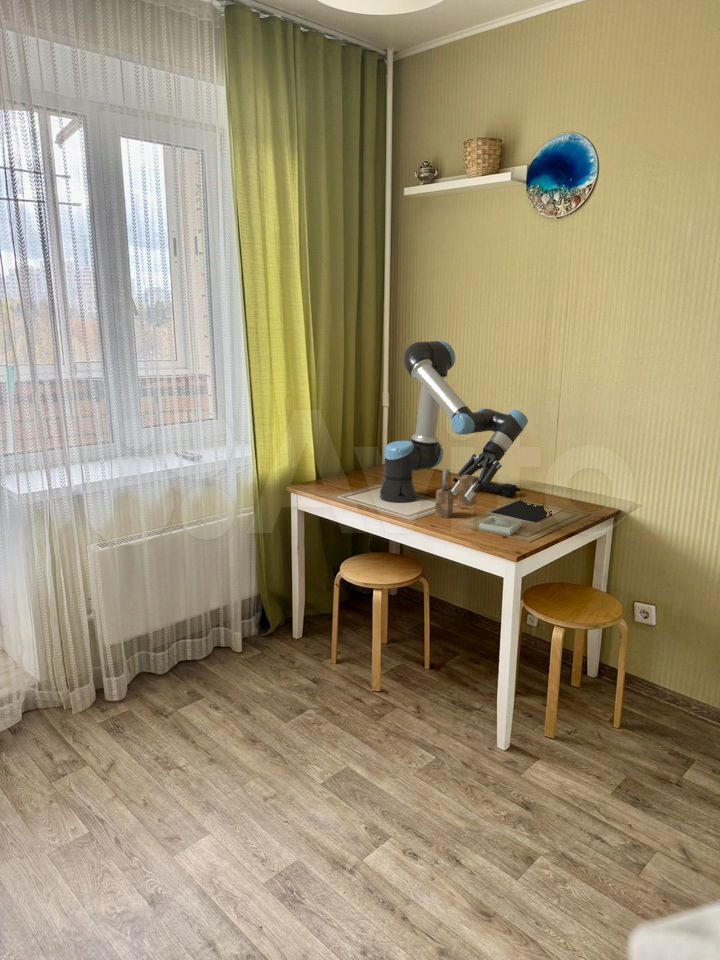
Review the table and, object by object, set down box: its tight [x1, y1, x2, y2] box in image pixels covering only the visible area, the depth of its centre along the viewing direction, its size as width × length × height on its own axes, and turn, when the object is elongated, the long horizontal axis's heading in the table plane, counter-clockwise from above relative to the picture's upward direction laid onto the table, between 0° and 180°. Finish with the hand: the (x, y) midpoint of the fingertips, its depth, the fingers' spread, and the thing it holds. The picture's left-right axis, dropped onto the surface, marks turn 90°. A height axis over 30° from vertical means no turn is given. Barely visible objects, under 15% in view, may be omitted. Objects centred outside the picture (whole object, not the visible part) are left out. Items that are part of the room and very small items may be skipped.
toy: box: [452, 477, 521, 499], centre depth 304 cm, size 10×5×30 cm
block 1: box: [434, 468, 455, 519], centre depth 265 cm, size 5×5×18 cm
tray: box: [478, 515, 522, 536], centre depth 252 cm, size 12×12×2 cm
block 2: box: [457, 475, 479, 507], centre depth 250 cm, size 5×5×10 cm
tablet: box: [490, 499, 553, 524], centre depth 275 cm, size 27×1×20 cm
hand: (460, 495), depth 248 cm, fingers closed on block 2, 7 cm apart
